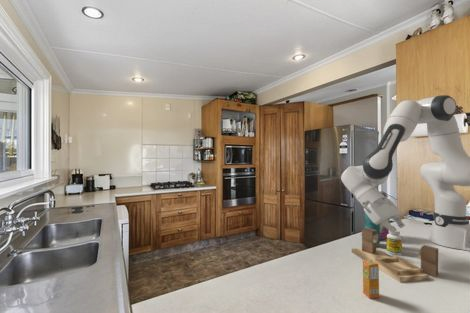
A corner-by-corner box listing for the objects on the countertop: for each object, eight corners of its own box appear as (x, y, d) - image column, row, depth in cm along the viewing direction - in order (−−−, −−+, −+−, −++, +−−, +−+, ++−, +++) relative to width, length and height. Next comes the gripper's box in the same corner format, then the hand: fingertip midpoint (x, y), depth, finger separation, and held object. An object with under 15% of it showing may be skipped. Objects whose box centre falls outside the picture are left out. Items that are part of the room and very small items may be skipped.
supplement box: (361, 292, 70) (361, 259, 70) (372, 291, 71) (372, 258, 71) (368, 299, 67) (369, 264, 67) (379, 298, 67) (380, 264, 67)
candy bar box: (378, 241, 113) (379, 207, 113) (368, 238, 118) (368, 205, 118) (390, 237, 119) (390, 205, 119) (380, 234, 124) (380, 203, 123)
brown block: (421, 268, 86) (421, 244, 86) (438, 273, 82) (438, 248, 82) (417, 271, 83) (418, 246, 83) (435, 277, 80) (435, 251, 80)
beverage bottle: (376, 242, 111) (376, 200, 111) (383, 248, 105) (383, 203, 105) (361, 241, 112) (362, 200, 112) (368, 247, 105) (368, 203, 105)
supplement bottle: (400, 251, 101) (401, 229, 101) (402, 256, 96) (402, 233, 96) (386, 249, 104) (386, 227, 104) (387, 253, 99) (387, 230, 99)
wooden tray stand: (374, 250, 102) (374, 226, 102) (428, 279, 78) (428, 248, 78) (351, 252, 100) (351, 227, 100) (399, 282, 76) (400, 250, 76)
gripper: (366, 197, 89) (396, 230, 81) (387, 193, 102) (414, 220, 94) (354, 207, 93) (381, 239, 85) (375, 201, 105) (400, 228, 98)
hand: (398, 229), depth 90 cm, fingers open, 8 cm apart
